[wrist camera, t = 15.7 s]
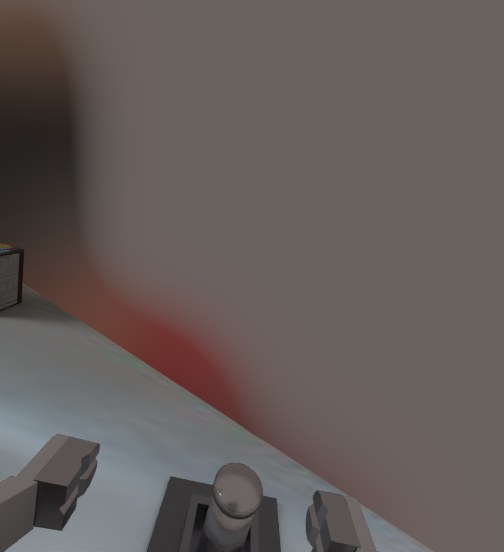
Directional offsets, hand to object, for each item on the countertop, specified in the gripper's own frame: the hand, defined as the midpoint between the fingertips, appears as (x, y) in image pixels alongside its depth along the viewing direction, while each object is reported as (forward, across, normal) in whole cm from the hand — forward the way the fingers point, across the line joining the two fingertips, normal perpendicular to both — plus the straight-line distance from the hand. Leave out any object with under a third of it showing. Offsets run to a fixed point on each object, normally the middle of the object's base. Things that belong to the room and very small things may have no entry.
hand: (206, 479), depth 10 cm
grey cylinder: (+15, +5, -29) cm, 33 cm away
